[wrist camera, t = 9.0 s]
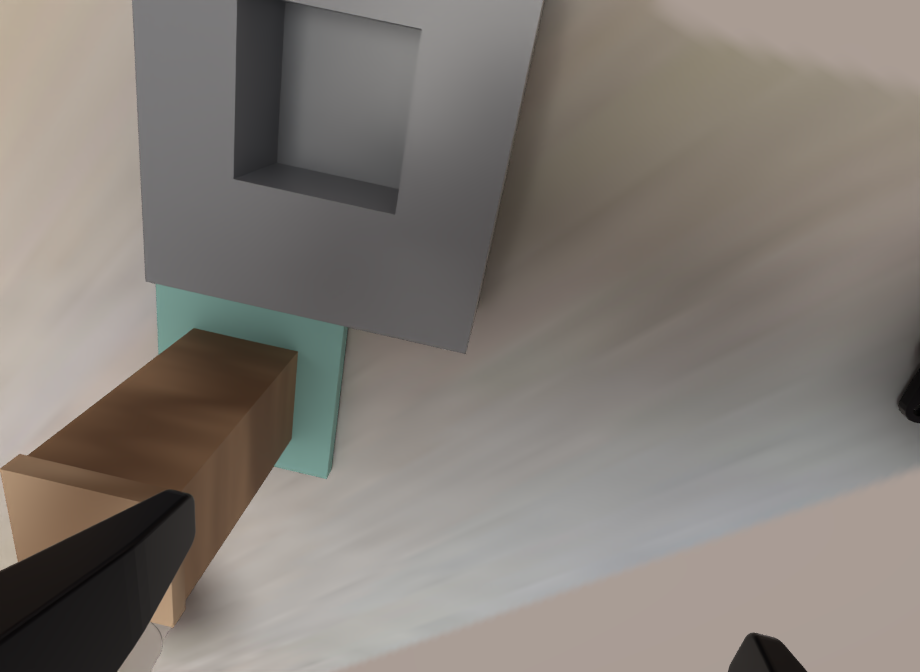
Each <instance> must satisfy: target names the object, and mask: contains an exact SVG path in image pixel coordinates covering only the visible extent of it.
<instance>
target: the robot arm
mask: <svg viewBox="0 0 920 672" xmlns="http://www.w3.org/2000/svg"><path fill="white" fill-rule="evenodd" d="M919 404H920V369H919V371H918V372H917V374H916V376H915V377H914V379H913V380H912V382H911V384H910V385H909V387H908V389H907V390H906V392H905V394H904V395H903V397H902V399H901V400H900V403H899V410H900V411H901V412H902V414H903V415H905V416H906V417H907V418H908V419H909V420H910V421H913V422H916V423H920V408H919V409H917V410H914V408H915V407H916V406H917V405H919ZM195 533H196V522H195V501H194V497H193V496H192V495H191V494H189V493H185V492H181V491H177V490H173V489H168V490H164V491H162V492H160V493H158V494H156V495H154V496H152V497H150V498H148V499H146V500H144V501H142V502H140V503H138V504H136V505H134V506H132V507H130V508H127V509H125V510H123V511H121V512H119V513H117V514H115V515H113V516H111V517H109V518H107V519H105V520H103V521H101V522H99V523H97V524H95V525H93V526H91V527H89V528H87V529H85V530H83V531H81V532H79V533H77V534H75V535H72V536H70V537H68V538H66V539H64V540H62V541H60V542H58V543H56V544H54V545H52V546H50V547H48V548H46V549H44V550H42V551H40V552H38V553H36V554H34V555H32V556H30V557H28V558H26V559H24V560H22V561H20V562H17V563H15V564H13V565H11V566H9V567H7V568H5V569H3V570H1V571H0V672H117V671H118V670H119V669H120V667H121V666H122V664H123V663H124V661H125V660H126V658H127V657H128V655H129V654H130V652H131V651H132V650H133V648H134V647H135V645H136V644H137V642H138V640H139V639H140V637H141V636H142V634H143V633H144V631H145V629H146V628H147V626H148V624H149V622H150V621H151V619H152V617H153V615H154V613H155V612H156V610H157V608H158V606H159V604H160V603H161V601H162V599H163V597H164V595H165V593H166V592H167V590H168V588H169V586H170V584H171V583H172V581H173V579H174V577H175V575H176V573H177V572H178V570H179V568H180V566H181V564H182V562H183V561H184V559H185V557H186V555H187V553H188V552H189V550H190V548H191V546H192V544H193V541H194V538H195ZM728 672H807V671H806V670H805V668H804V667H803V666H802V665H801V664H800V663H799V661H798V660H797V659H796V658H795V657H794V656H793V654H792V653H791V652H790V651H789V650H788V649H787V647H786V646H785V645H784V644H783V643H782V642H781V641H780V640H778V639H776V638H774V637H770V636H766V635H761V634H758V633H750V634H748V635H747V636H746V637H745V639H744V641H743V643H742V644H741V646H740V648H739V650H738V651H737V653H736V655H735V657H734V659H733V660H732V662H731V664H730V666H729V670H728Z"/></svg>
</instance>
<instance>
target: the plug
mask: <svg viewBox="0 0 920 672" xmlns="http://www.w3.org/2000/svg"><path fill="white" fill-rule="evenodd" d="M297 360H298V351H293V350H289V349H285V348H280V347H276V346H271V345H267V344H262V343H258V342H254V341H249V340H245V339H240V338H236V337H231V336H227V335H223V334H218V333H214V332H209V331H205V330H200V329H196V328H193V329H192V330H190V331H189V332H188V333H186V334H185V335H184V336H183V337H181V338H180V339H179V340H177V341H176V342H175V343H173V344H172V345H171V346H170V347H168V348H167V349H166V350H164V351H163V352H162V353H160V354H159V355H158V356H157V357H155V358H154V359H153V360H151V361H150V362H149V363H147V364H146V365H145V366H143V367H142V368H141V369H140V370H138V371H137V372H136V373H134V374H133V375H132V376H130V377H129V378H128V379H127V380H125V381H124V382H123V383H121V384H120V385H119V386H117V387H116V388H115V389H114V390H112V391H111V392H110V393H108V394H107V395H106V396H104V397H103V398H102V399H100V400H99V401H98V402H97V403H95V404H94V405H93V406H91V407H90V408H89V409H87V410H86V411H85V412H84V413H82V414H81V415H80V416H78V417H77V418H76V419H74V420H73V421H72V422H71V423H69V424H68V425H67V426H65V427H64V428H63V429H61V430H60V431H59V432H57V433H56V434H55V435H54V436H52V437H51V438H50V439H48V440H47V441H46V442H44V443H43V444H42V445H41V446H39V447H38V448H37V449H35V450H34V451H33V452H31V453H30V454H29V455H27V456H26V455H22V454H19V455H18V456H16V457H15V458H14V459H12V460H11V461H10V462H8V463H7V464H6V465H4V466H3V467H2V468H0V472H1V478H2V483H3V488H4V493H5V498H6V503H7V508H8V513H9V518H10V524H11V529H12V534H13V539H14V544H15V549H16V554H17V559H18V562H20V561H22V560H24V559H26V558H28V557H30V556H32V555H34V554H36V553H38V552H40V551H42V550H44V549H46V548H48V547H50V546H52V545H54V544H56V543H58V542H60V541H62V540H64V539H66V538H68V537H70V536H72V535H75V534H77V533H79V532H81V531H83V530H85V529H87V528H89V527H91V526H93V525H95V524H97V523H99V522H101V521H103V520H105V519H107V518H109V517H111V516H113V515H115V514H117V513H119V512H121V511H123V510H125V509H127V508H130V507H132V506H134V505H136V504H138V503H140V502H142V501H144V500H146V499H148V498H150V497H152V496H154V495H156V494H158V493H160V492H162V491H164V490H168V489H173V490H177V491H181V492H185V493H189V494H191V495H192V496H193V497H194V501H195V522H196V533H195V538H194V541H193V544H192V546H191V548H190V550H189V552H188V553H187V555H186V557H185V559H184V561H183V562H182V564H181V566H180V568H179V570H178V572H177V573H176V575H175V577H174V579H173V581H172V583H171V584H170V586H169V588H168V590H167V592H166V593H165V595H164V597H163V599H162V601H161V603H160V604H159V606H158V608H157V610H156V612H155V613H154V615H153V617H152V619H151V621H150V622H152V623H156V624H160V625H165V626H169V627H173V628H174V626H175V624H176V623H177V621H178V620H179V618H180V617H181V615H182V614H183V612H184V611H185V609H186V607H185V600H186V599H187V597H188V596H189V594H190V593H191V591H192V590H193V588H194V587H195V585H196V584H197V582H198V581H199V579H200V578H201V576H202V575H203V573H204V572H205V570H206V568H207V567H208V565H209V564H210V562H211V561H212V559H213V558H214V556H215V555H216V553H217V552H218V550H219V549H220V547H221V546H222V544H223V543H224V541H225V540H226V538H227V537H228V535H229V534H230V532H231V531H232V529H233V527H234V526H235V524H236V523H237V521H238V520H239V518H240V517H241V515H242V514H243V512H244V511H245V509H246V508H247V506H248V505H249V503H250V502H251V500H252V499H253V497H254V496H255V494H256V493H257V491H258V490H259V488H260V486H261V485H262V483H263V482H264V480H265V479H266V477H267V476H268V474H269V473H270V471H271V470H272V468H273V467H274V465H275V464H276V462H277V461H278V459H279V458H280V456H281V455H282V453H283V452H284V450H285V449H286V447H287V446H288V444H289V442H290V441H291V439H292V428H293V414H294V401H295V387H296V374H297Z"/></svg>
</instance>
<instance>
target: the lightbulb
mask: <svg viewBox="0 0 920 672" xmlns="http://www.w3.org/2000/svg"><path fill="white" fill-rule="evenodd" d="M170 628H171V627H169V626H165V625H160V624H156V623H152V622H149V624H148V626H147V628H146V629H145V631H144V633H143V634H142V636H141V637H140V639H139V640H138V642H137V644H136V645H135V647H134V648H133V650H132V651H131V652H130V654H129V655H128V657H127V658H126V660H125V661H124V663H123V664H122V666H121V667H120V669H119V670H118V671H117V672H151V671H152V668H153V666H154V665H155V663H156V661H157V659H158V658H159V656H160V654H161V651H162V647H163V643H162V641H163V640H164V638H165V637H166V635H167V634H168V631H169V630H170Z"/></svg>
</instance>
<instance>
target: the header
mask: <svg viewBox="0 0 920 672" xmlns="http://www.w3.org/2000/svg"><path fill="white" fill-rule="evenodd" d="M544 3H545V0H132V7H133V28H134V49H135V70H136V91H137V112H138V133H139V154H140V175H141V195H142V216H143V237H144V258H145V279H146V282H151V283H155V284H159V285H164V286H168V287H173V288H177V289H181V290H186V291H190V292H195V293H199V294H203V295H208V296H212V297H217V298H221V299H226V300H230V301H234V302H239V303H243V304H248V305H252V306H256V307H261V308H265V309H270V310H274V311H278V312H283V313H287V314H292V315H296V316H300V317H305V318H309V319H314V320H318V321H323V322H327V323H331V324H336V325H340V326H345V327H349V328H353V329H358V330H362V331H367V332H371V333H375V334H380V335H384V336H389V337H393V338H398V339H402V340H406V341H411V342H415V343H420V344H424V345H428V346H433V347H437V348H442V349H446V350H450V351H455V352H459V353H464V354H466V351H467V347H468V343H469V339H470V335H471V331H472V327H473V323H474V319H475V315H476V312H477V307H478V303H479V298H480V294H481V289H482V285H483V280H484V275H485V271H486V266H487V262H488V257H489V253H490V248H491V244H492V239H493V235H494V230H495V226H496V221H497V216H498V212H499V207H500V203H501V198H502V194H503V189H504V185H505V180H506V176H507V171H508V166H509V162H510V157H511V153H512V148H513V144H514V139H515V135H516V130H517V126H518V121H519V117H520V112H521V107H522V103H523V98H524V94H525V89H526V85H527V80H528V76H529V71H530V67H531V62H532V57H533V53H534V48H535V44H536V39H537V35H538V30H539V26H540V21H541V17H542V12H543V8H544Z"/></svg>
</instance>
